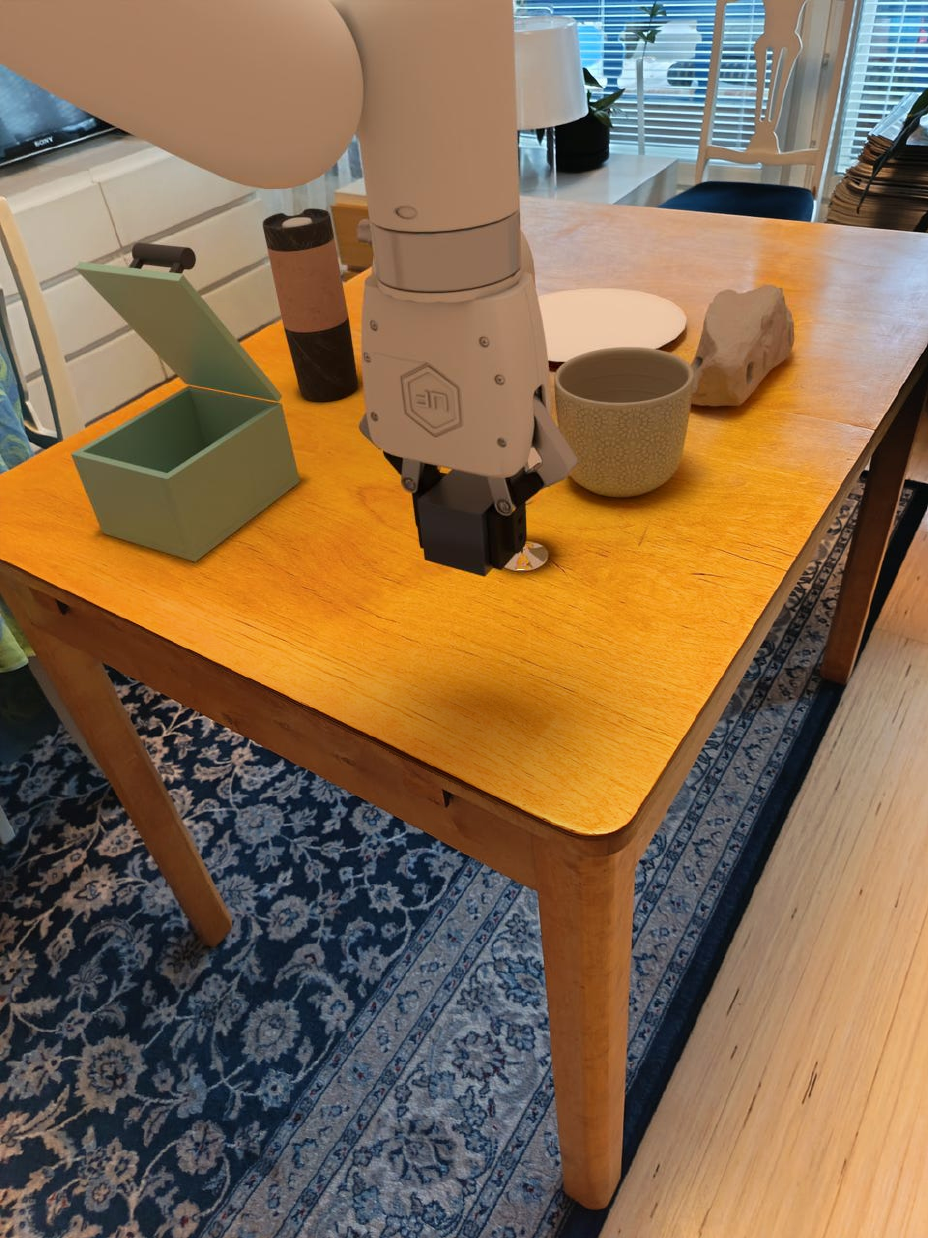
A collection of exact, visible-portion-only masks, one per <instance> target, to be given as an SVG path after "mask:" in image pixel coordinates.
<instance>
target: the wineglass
mask: <svg viewBox="0 0 928 1238" xmlns="http://www.w3.org/2000/svg"><path fill="white" fill-rule="evenodd" d="M527 461H528V465H529V469H531V468H532V467H533V466H534V465H536V464H537V463H542V460H541V457H540V456H539V454H538V453H537V451H536V450H535V448H531V449H530V453H529V457H528V460H527ZM550 488H551V486H549V487H546V488H544V489H542V490H540V491H539V492H538V493H537V494H535V495H534V496H533V497H531V498H530V499H529V500H527V501H526V506H530V505H533V504H535V503H537V502H539V501H540V500H541V499H542V498H544V496H545V495H546V494H547V493H548V492H549V490H550ZM548 559H549V551H548V549H547V548H546V546H544V545H542V544H540V543H538V542H534V541H527V540H526V544H525V546H524V548H523V549H522V550H521V551H520V552H519V553H518V554H515V556H514V557H513V558H512V559H511V560H510V561H509V562H508V563H507V564H506V565H505V567H504V569H507V570H510V571H514V572H515V571H516V572H528V571H533V570H536V569H538V568H540V567H542V566H543V565H544V564H545V563H546V562H547V561H548Z"/></svg>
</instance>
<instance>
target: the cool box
mask: <svg viewBox="0 0 928 1238" xmlns="http://www.w3.org/2000/svg"><path fill="white" fill-rule="evenodd" d="M70 456H71V458H72V461H73V463H74V466H75V468H76V471H77V474H78V475H79V479H80V480H81V483H82V486H83V488H84V490H85V492H86V495H87V498H88V501H89V503H90V505H91V508H92V510H93V513H94V515H95V517H96V518H95V519H96V521H97V522H98V525H99V528H100V531H101V533H102V534H103V535H107V536H110V537H114V538H117V539H120V540H123V541H126V542H130V543H133V544H136V545H139V546H141V547H142V546H143V547H144V548H149V549H152V550H155V551H159V552H161V553H165V554H168V555H170V556H174V557H177V558H181V559H183V560H187V561H190V562H192V563H193V562H194V563H196V562H198V561H199V560H200V559H202V558H203V557H204V556H205V555H208V553H210V552H211V551H212V550H213V549H215V548H216V547H218V545H220V544H221V543H223V542H224V541H225V540H226V539H228V538H229V537H230V536H232V535H233V534H234V533H235V532H237V531H238V530H240V529H241V528H242V527H243V526H244V525H246V524H247V523H249V522H250V521H251V520H252V519H254V518H255V517H257V516H258V515H259V514H260V513H262V512H263V511H264V510H266V509H267V508H268V507H269V506H271V505H272V504H273V503H275V502H276V501H277V500H279V499H280V498H281V497H283V496H284V495H285V494H287V493H288V492H289V491H290V490H292V489H293V488H294V487H296V486H297V485H298V484H300V483H301V480H300V476H299V471H298V467H297V463H296V458H295V454H294V450H293V445H292V440H291V437H290V433H289V429H288V424H287V419H286V416H285V412H284V407H283V403H281V402H277V401H272V400H266V399H261V398H256V397H251V396H246V395H240V394H235V393H230V392H225V391H220V390H214V389H209V388H204V387H199V386H194V385H187V386H185V387H184V388H182V389H180V390H178V391H176V392H175V393H172V394H171V395H170V396H168V397H166V398H164V399H163V400H160V401H159V402H157V403H156V404H153V406H151V407H149V408H147V409H146V410H144V411H142V412H140V413H139V414H137V415H135V416H133V417H132V418H130V419H129V420H128V419H127V421H125V422H123V423H122V424H120V425H118V426H116V427H115V428H112V429H111V430H109V431H107V432H106V433H104V434H102V435H101V436H98V437H97V438H95V439H93V440H92V441H90V442H89V443H86V445H83V446H81V447H80V448H78V449H77V450H75V451H73V452H71V453H70Z"/></svg>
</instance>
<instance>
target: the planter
mask: <svg viewBox="0 0 928 1238" xmlns="http://www.w3.org/2000/svg"><path fill="white" fill-rule="evenodd" d="M690 365H691V363H689V362H688V361H687V360H685V359H683V358H682V357H680V356H679V355H676V354H674V353H671V352H669V351H665V350H662V349H661V350H660V349H658V350H656V349H650V348H641V347H616V348H607V349H600V350H595V351H591V352H587V353H584V354H581V355H579V356H576V357H574V358H572V359H570V360H568V361H567V362H565V363H564V364H561V365H560V366H559V367H558V368H557V370H556V371H555V373H554V376H553V377H554V378H553V381H554V382H553V386H554V387H553V388H554V403H555V414H556V415H555V416H556V421H557V427H558V428H559V430H560V431H561V433H562V435H563V436H564V438H565V439H566V441H567V442H568V444H569V446H570V447H571V449H572V450H573V452H574V453H575V455H576V457H577V458H578V461H579V465H578V467H577V468H576V469H575V470H574V471H573V472H572V473H571V474H570V475H569V476H570V477H571V478H572V479H573V480H574V482H575V483H577V484H578V485H579V486H581V487H583V488H584V489H586V490H587V491H590V492H592V493H594V494H596V495H599V496H604V497H610V498H631V497H637V496H641V495H645V494H647V493H651V492H652V491H655V490H656V489H658V488H659V487H662V485H664V484H666V483H667V482H668V481H669V480H670V479H671V478H672V477H673V476H674V474H675V473H676V472H677V470H678V468H679V465H680V464H681V461H682V457H683V452H684V450H685V449H684V448H685V446H686V445H685V443H686V439H687V433H688V428H689V420H690V415H691V409H692V408H691V407H692V403H691V401H692V392H693V381H694V372H693V369H692V367H691V366H690Z"/></svg>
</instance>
